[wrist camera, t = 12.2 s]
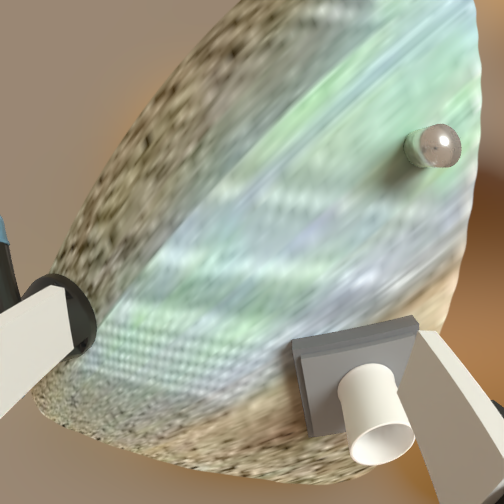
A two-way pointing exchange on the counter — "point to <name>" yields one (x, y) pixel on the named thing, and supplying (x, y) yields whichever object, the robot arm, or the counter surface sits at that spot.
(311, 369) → the podium
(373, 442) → the mug
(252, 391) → the counter surface
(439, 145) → the spice tin
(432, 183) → the counter surface
